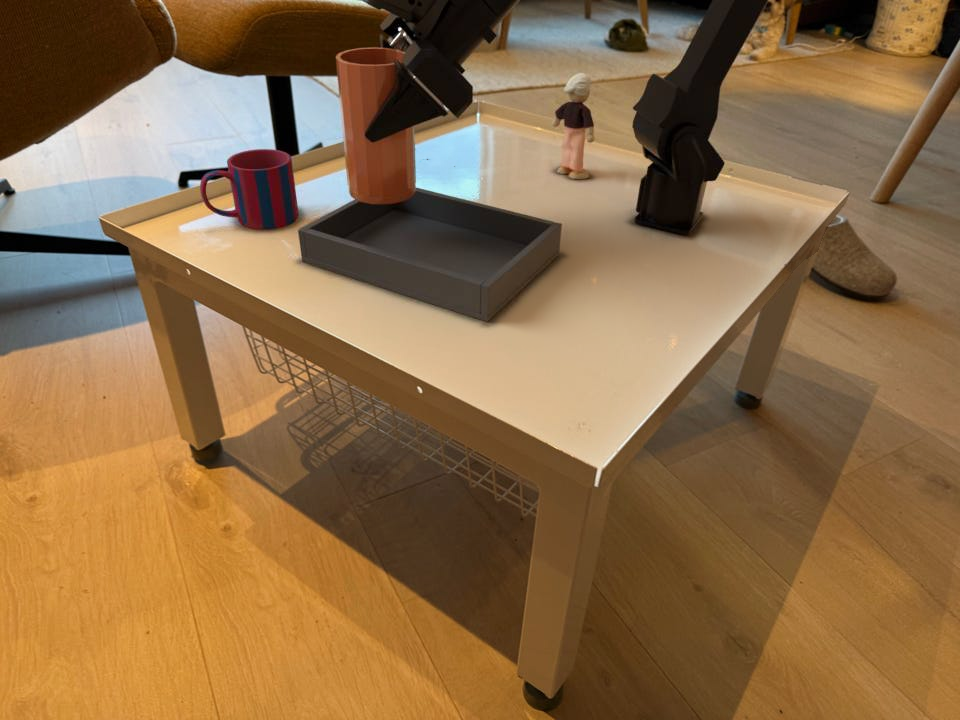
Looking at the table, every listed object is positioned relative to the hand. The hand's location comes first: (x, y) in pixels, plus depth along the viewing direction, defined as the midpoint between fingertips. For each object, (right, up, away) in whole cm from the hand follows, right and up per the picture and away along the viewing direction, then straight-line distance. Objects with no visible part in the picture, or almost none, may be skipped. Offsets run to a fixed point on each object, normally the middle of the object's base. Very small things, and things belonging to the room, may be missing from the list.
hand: (364, 126), depth 67 cm
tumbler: (+1, -5, +4) cm, 7 cm away
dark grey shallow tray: (+6, -12, +5) cm, 14 cm away
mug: (-14, -7, +11) cm, 20 cm away
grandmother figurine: (+23, +3, +27) cm, 35 cm away
